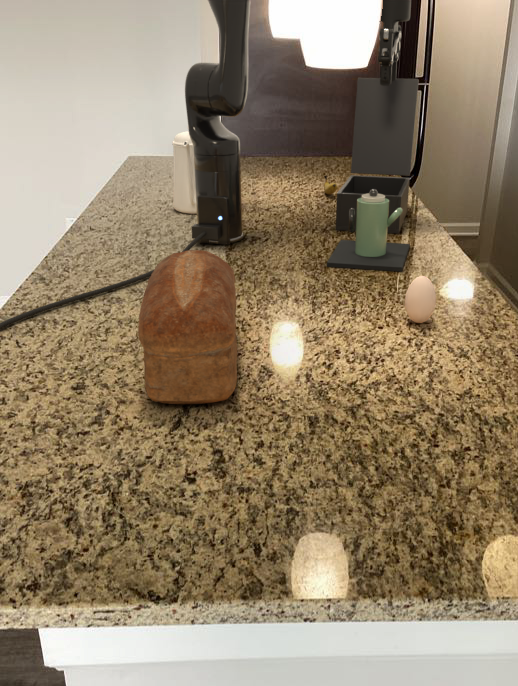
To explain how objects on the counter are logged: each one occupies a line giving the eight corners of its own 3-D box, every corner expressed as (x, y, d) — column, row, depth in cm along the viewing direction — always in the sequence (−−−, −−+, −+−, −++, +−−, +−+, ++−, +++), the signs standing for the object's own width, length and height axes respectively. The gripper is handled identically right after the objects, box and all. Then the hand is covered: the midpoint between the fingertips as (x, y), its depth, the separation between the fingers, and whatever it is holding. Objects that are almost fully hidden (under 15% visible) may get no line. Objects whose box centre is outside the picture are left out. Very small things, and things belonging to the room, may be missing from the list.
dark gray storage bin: (398, 233, 167) (401, 196, 163) (335, 230, 170) (336, 193, 166) (407, 212, 184) (409, 177, 180) (349, 208, 187) (350, 175, 183)
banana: (338, 199, 195) (339, 183, 193) (329, 200, 195) (329, 183, 193) (329, 190, 204) (330, 175, 202) (320, 191, 203) (321, 175, 201)
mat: (401, 271, 144) (402, 267, 144) (326, 266, 147) (326, 262, 146) (409, 247, 158) (409, 243, 157) (340, 243, 161) (340, 239, 160)
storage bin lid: (418, 79, 175) (418, 79, 175) (357, 77, 177) (358, 78, 178) (409, 175, 180) (409, 175, 180) (350, 172, 182) (351, 173, 183)
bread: (138, 416, 95) (127, 310, 88) (158, 323, 122) (151, 236, 115) (239, 413, 95) (236, 307, 89) (237, 321, 122) (234, 234, 116)
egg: (409, 328, 119) (412, 281, 116) (399, 318, 123) (402, 272, 120) (438, 326, 120) (442, 280, 117) (427, 316, 124) (431, 270, 121)
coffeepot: (165, 223, 175) (158, 133, 166) (180, 197, 197) (175, 117, 188) (213, 223, 175) (209, 134, 166) (224, 197, 197) (221, 117, 188)
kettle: (401, 250, 154) (405, 187, 148) (398, 258, 148) (402, 194, 143) (350, 246, 156) (352, 184, 150) (345, 255, 150) (347, 191, 145)
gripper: (378, -7, 162) (374, 79, 170) (368, -6, 150) (364, 86, 158) (414, -7, 161) (409, 79, 169) (407, -6, 149) (402, 87, 157)
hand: (388, 83), depth 163 cm, fingers open, 8 cm apart
